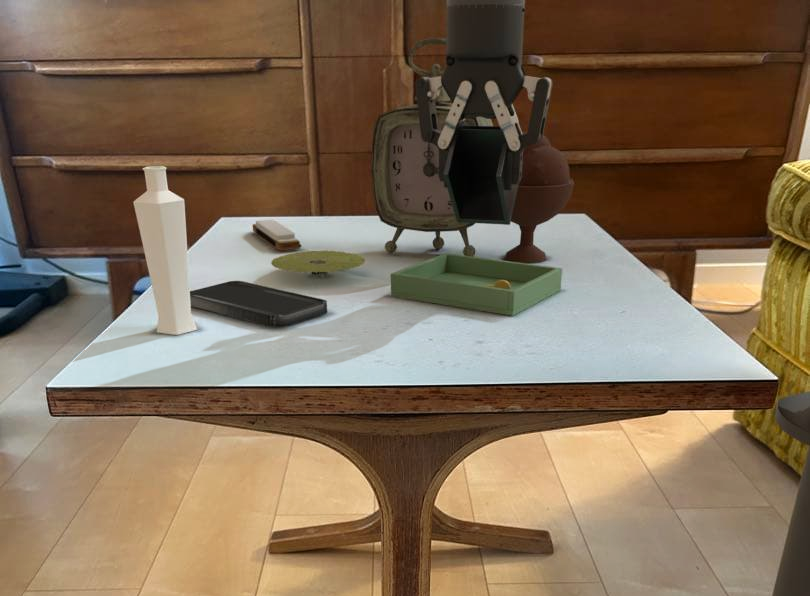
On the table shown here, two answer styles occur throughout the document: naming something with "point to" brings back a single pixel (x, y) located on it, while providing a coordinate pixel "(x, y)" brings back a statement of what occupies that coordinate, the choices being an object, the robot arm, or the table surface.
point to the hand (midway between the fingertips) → (479, 187)
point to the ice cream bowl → (539, 196)
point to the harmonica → (276, 235)
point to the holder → (479, 176)
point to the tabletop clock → (414, 169)
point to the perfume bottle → (165, 251)
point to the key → (501, 285)
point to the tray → (476, 283)
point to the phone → (258, 303)
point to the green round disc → (318, 262)
